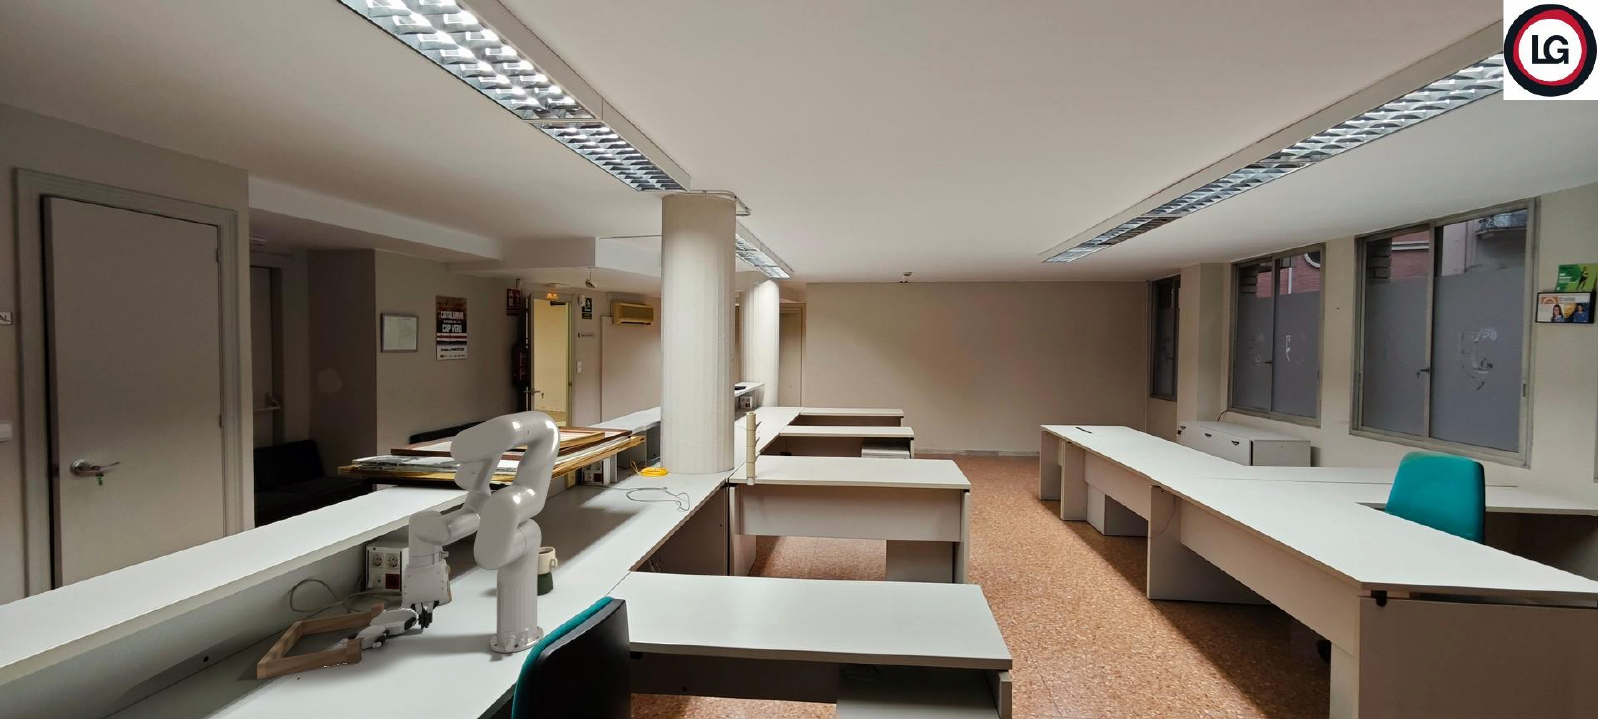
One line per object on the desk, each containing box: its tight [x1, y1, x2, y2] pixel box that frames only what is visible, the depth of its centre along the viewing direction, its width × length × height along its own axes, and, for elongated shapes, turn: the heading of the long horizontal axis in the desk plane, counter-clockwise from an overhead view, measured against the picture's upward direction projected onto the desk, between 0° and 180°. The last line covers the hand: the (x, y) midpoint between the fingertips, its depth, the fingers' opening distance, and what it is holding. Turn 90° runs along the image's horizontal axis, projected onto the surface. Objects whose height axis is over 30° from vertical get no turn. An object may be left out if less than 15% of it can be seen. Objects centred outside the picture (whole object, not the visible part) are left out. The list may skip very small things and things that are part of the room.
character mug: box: [537, 546, 558, 595], centre depth 178 cm, size 11×7×13 cm, turn 72°
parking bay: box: [256, 602, 385, 680], centre depth 144 cm, size 23×19×5 cm
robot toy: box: [339, 609, 418, 650], centre depth 149 cm, size 12×4×15 cm
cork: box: [437, 563, 453, 607], centre depth 170 cm, size 6×6×11 cm
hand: (425, 626), depth 153 cm, fingers closed
